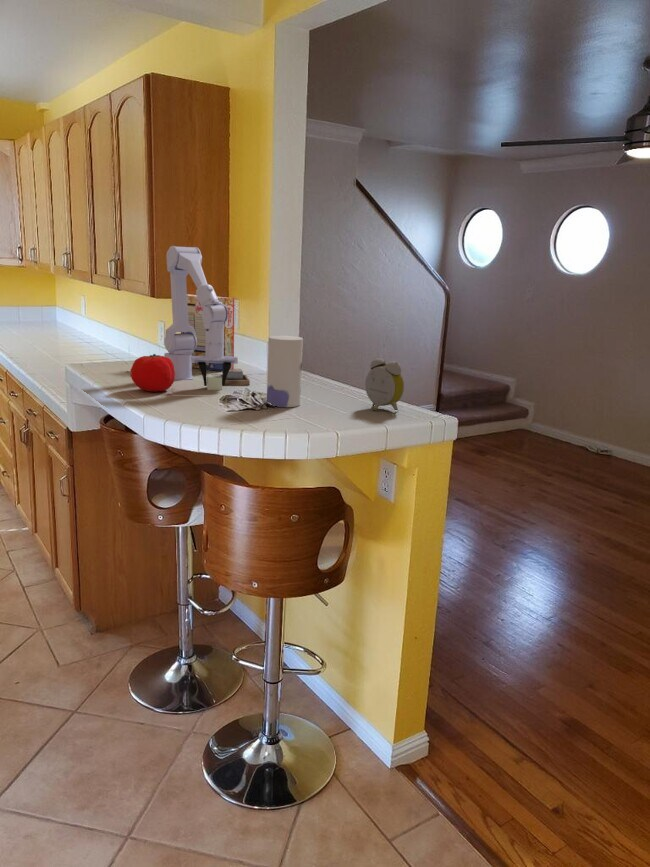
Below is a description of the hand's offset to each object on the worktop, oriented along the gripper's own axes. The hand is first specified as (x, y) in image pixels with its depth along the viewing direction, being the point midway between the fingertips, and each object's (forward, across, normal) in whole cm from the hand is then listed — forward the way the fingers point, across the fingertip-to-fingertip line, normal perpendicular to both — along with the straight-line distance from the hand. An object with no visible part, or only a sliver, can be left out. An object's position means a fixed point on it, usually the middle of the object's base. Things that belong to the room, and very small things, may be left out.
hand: (214, 385), depth 214 cm
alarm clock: (+2, +47, -29) cm, 55 cm away
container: (+2, +19, -21) cm, 28 cm away
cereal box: (+2, 0, +40) cm, 40 cm away
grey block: (+1, +7, +11) cm, 13 cm away
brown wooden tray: (+1, +6, +11) cm, 13 cm away
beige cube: (+2, 0, 0) cm, 2 cm away
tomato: (+2, -19, -2) cm, 19 cm away
